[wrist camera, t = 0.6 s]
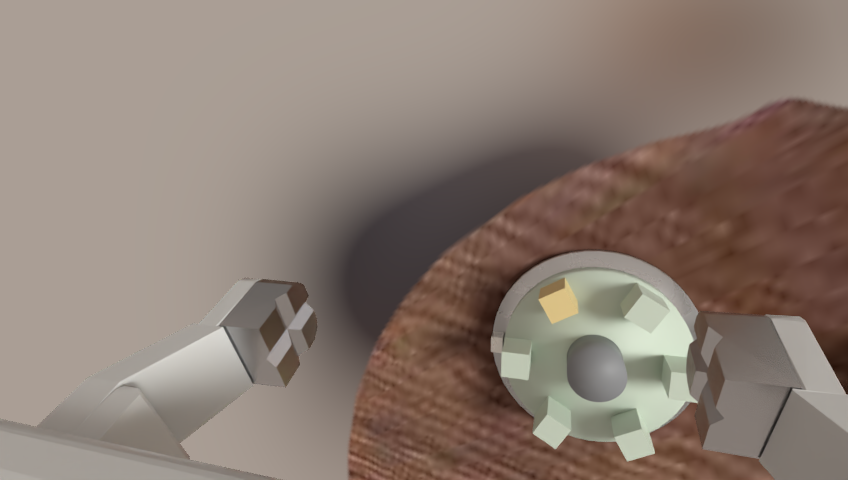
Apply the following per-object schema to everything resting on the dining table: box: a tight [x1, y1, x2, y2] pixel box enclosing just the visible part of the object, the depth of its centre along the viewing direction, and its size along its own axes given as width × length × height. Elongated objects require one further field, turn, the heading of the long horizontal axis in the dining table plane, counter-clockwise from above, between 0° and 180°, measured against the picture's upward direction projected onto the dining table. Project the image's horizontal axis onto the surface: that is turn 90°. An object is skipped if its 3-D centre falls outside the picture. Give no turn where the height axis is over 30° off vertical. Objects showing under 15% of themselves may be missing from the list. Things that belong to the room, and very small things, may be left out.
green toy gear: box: [501, 267, 698, 461], centre depth 52 cm, size 21×21×6 cm
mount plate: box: [491, 250, 698, 432], centre depth 55 cm, size 24×24×3 cm
